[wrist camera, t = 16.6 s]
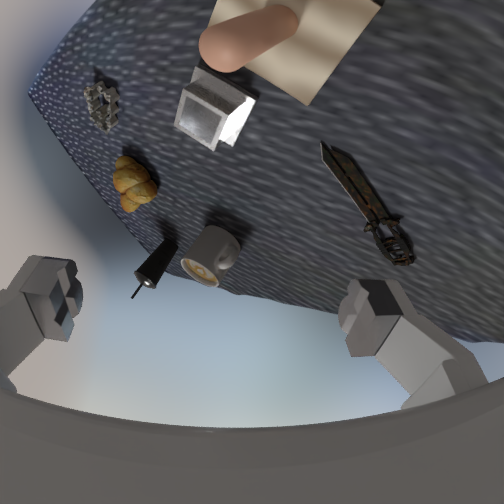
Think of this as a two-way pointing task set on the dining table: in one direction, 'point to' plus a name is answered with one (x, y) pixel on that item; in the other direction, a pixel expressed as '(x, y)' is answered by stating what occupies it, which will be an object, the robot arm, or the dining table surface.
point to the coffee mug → (211, 255)
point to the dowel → (246, 37)
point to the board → (305, 40)
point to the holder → (213, 108)
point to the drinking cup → (155, 265)
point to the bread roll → (133, 183)
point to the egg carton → (101, 114)
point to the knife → (365, 208)
